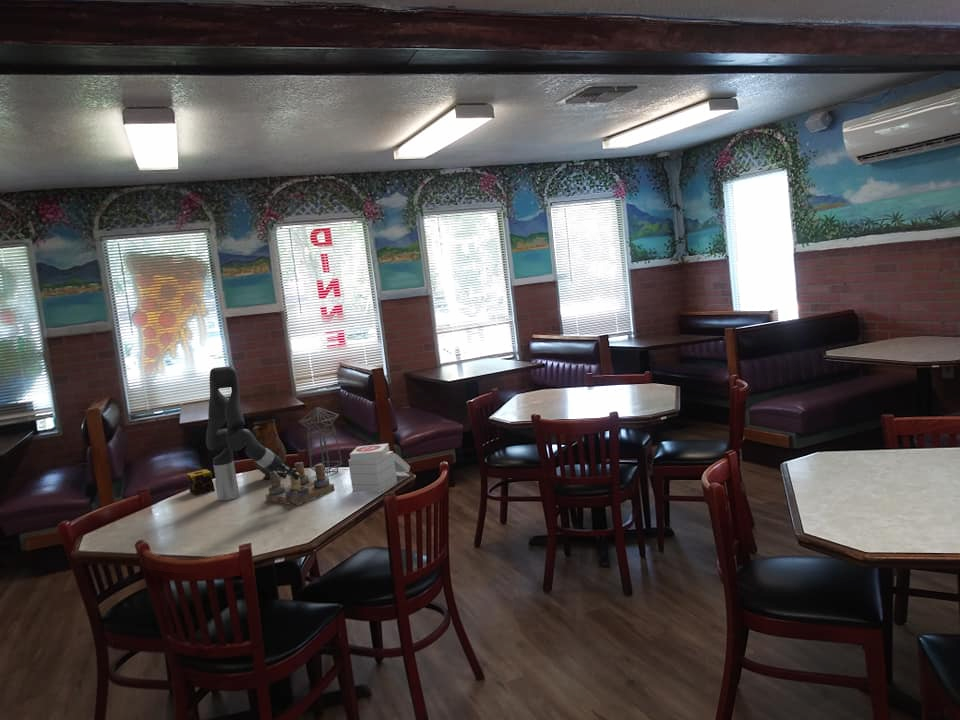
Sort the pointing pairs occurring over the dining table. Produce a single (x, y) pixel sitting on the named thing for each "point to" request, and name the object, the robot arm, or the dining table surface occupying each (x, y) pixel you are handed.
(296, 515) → the dining table surface
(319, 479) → the stool
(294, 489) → the loose leg
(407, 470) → the pizza box stack
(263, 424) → the pitcher
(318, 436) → the geometric lantern
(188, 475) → the yellow and brown cube
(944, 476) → the dining table surface
